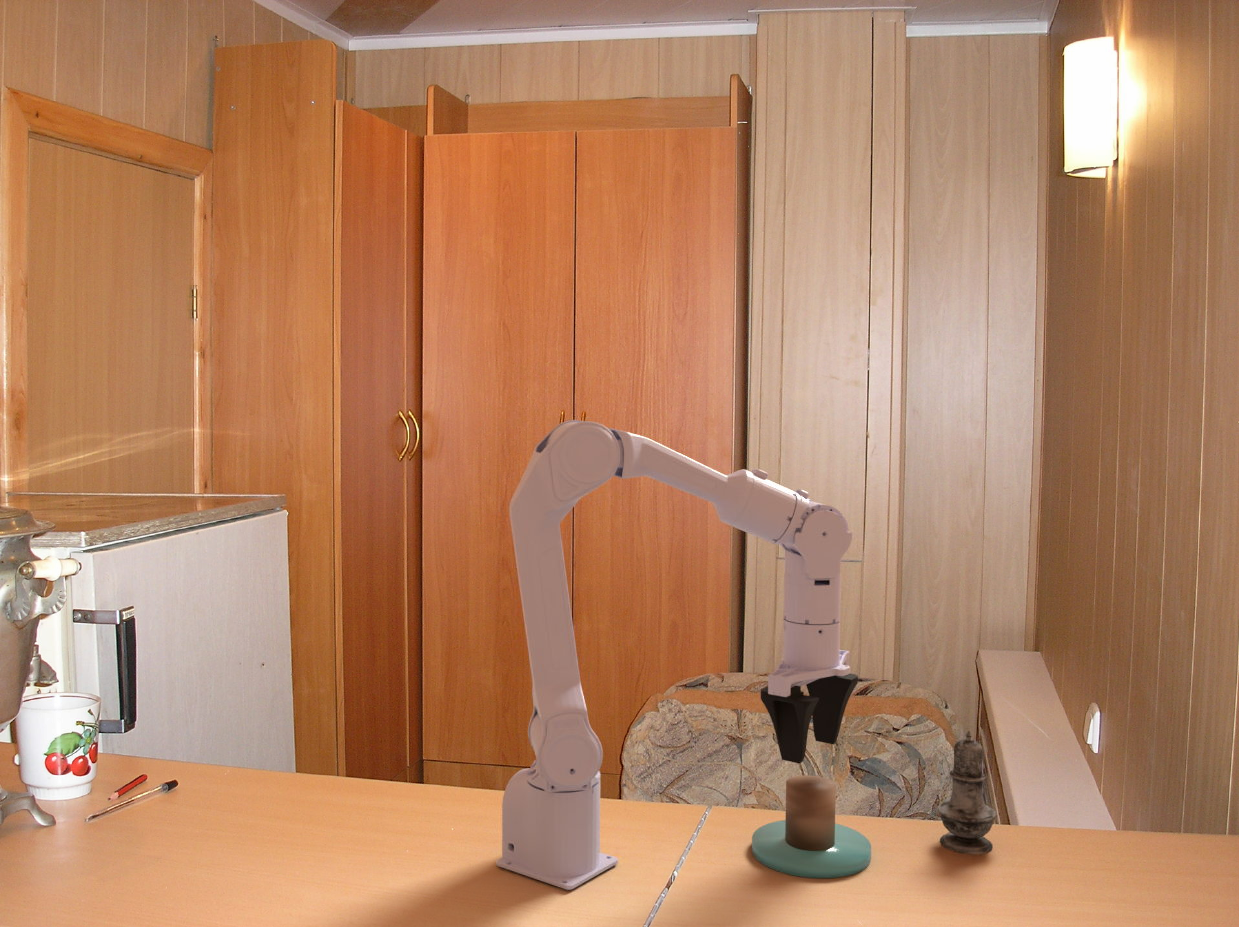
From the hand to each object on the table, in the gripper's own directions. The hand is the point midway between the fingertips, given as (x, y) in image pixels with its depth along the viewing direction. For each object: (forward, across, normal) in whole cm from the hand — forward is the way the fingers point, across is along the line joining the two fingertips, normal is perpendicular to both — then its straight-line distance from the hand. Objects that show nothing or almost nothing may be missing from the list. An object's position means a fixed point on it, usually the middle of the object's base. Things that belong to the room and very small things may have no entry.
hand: (809, 751), depth 111 cm
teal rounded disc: (+10, 0, 0) cm, 10 cm away
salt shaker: (+11, +12, -12) cm, 20 cm away
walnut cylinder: (+9, 0, 0) cm, 9 cm away
